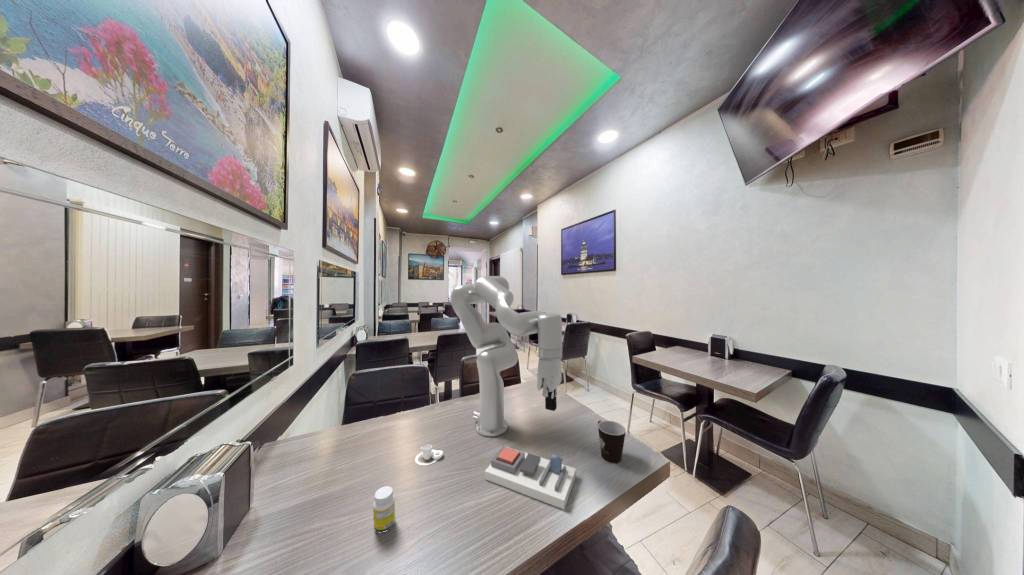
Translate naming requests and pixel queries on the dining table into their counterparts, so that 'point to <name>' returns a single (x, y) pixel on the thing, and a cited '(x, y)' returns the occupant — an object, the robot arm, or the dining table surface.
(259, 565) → the dining table surface
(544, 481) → the panel
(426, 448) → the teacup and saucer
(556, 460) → the paddle
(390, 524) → the supplement bottle
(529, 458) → the block
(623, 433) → the coffee mug
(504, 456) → the button
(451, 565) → the dining table surface
